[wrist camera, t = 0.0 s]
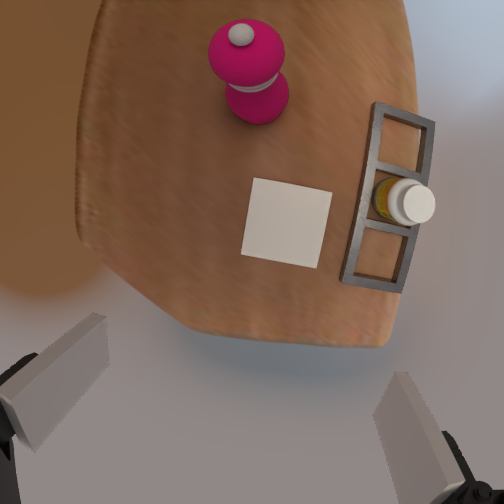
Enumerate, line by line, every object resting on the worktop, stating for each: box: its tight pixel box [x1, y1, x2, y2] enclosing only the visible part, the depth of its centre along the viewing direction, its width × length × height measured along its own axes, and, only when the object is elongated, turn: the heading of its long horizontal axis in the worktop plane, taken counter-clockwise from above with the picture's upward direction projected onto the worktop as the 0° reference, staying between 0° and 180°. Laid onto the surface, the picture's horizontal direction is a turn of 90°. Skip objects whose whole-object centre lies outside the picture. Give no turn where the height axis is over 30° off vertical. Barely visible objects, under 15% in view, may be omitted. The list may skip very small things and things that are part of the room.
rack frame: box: [339, 101, 435, 293], centre depth 35 cm, size 24×9×2 cm, turn 170°
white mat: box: [241, 178, 332, 268], centre depth 38 cm, size 10×10×1 cm
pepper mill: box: [208, 19, 289, 124], centre depth 25 cm, size 7×7×20 cm
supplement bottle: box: [372, 178, 435, 226], centre depth 32 cm, size 5×5×10 cm
